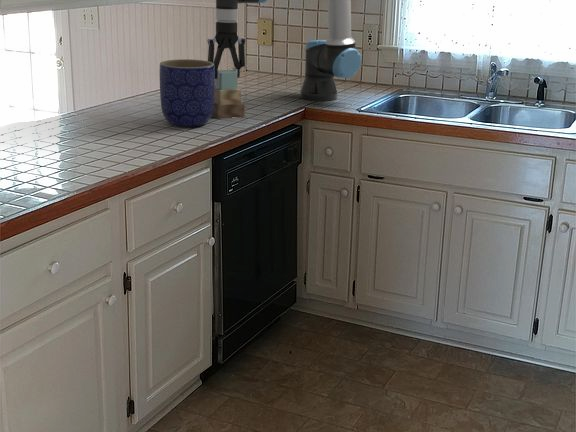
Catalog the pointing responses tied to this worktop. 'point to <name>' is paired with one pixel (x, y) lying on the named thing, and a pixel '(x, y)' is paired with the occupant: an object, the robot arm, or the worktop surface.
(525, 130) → the worktop surface
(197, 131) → the worktop surface
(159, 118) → the worktop surface
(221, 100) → the tower top
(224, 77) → the teal cube
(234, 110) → the tower base
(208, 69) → the planter
